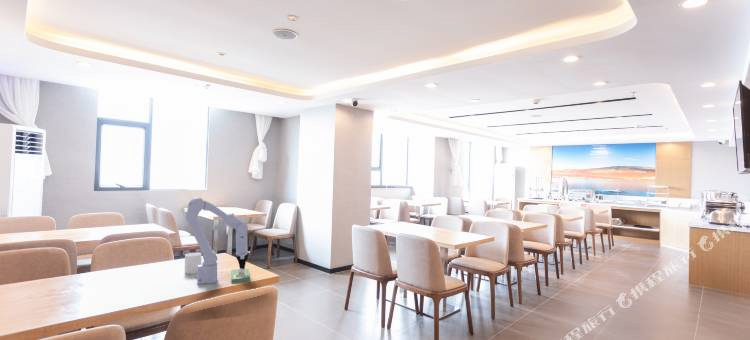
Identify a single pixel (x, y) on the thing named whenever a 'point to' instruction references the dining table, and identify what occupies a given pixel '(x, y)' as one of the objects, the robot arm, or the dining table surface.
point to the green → (239, 276)
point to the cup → (192, 262)
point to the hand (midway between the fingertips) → (242, 269)
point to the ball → (241, 271)
